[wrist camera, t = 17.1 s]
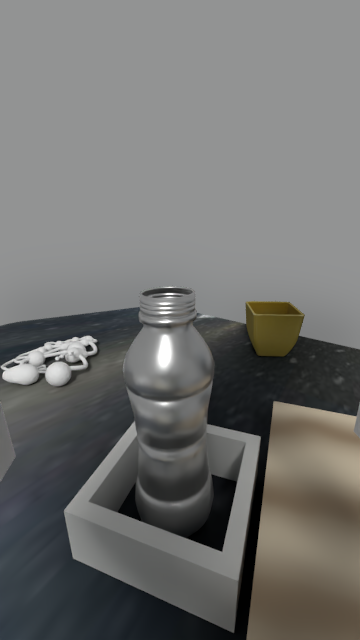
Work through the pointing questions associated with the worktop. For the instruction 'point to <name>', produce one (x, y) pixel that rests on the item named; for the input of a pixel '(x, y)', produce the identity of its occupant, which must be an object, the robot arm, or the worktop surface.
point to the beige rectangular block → (308, 530)
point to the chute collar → (162, 546)
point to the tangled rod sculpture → (56, 371)
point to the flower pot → (273, 327)
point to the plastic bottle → (171, 411)
